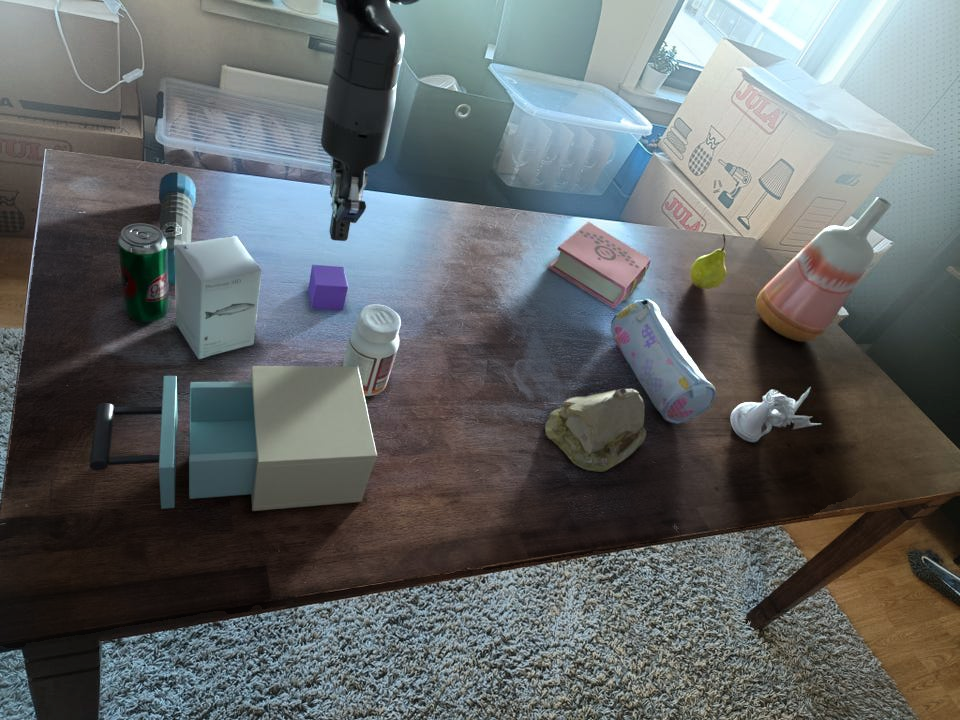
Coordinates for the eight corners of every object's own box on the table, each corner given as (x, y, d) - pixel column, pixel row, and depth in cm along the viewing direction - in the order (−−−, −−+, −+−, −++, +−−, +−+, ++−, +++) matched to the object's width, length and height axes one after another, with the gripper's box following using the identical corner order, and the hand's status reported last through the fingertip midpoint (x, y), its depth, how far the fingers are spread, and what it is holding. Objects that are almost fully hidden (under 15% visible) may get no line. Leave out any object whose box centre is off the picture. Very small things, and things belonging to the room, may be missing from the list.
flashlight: (195, 201, 99) (196, 173, 95) (194, 292, 85) (194, 263, 82) (160, 197, 97) (159, 169, 93) (152, 290, 83) (151, 260, 80)
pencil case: (600, 333, 108) (625, 291, 101) (641, 335, 111) (668, 294, 105) (653, 430, 94) (686, 388, 88) (698, 429, 98) (733, 388, 92)
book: (617, 311, 114) (630, 290, 111) (548, 267, 117) (558, 246, 114) (642, 281, 125) (654, 261, 121) (578, 242, 128) (588, 221, 124)
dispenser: (252, 511, 66) (258, 462, 60) (246, 417, 74) (251, 365, 68) (361, 501, 70) (377, 455, 65) (345, 414, 78) (358, 366, 73)
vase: (750, 329, 125) (854, 201, 105) (747, 291, 136) (841, 169, 116) (817, 359, 124) (933, 236, 105) (809, 319, 135) (913, 201, 116)
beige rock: (578, 482, 82) (612, 435, 76) (532, 418, 88) (560, 369, 82) (649, 454, 90) (685, 410, 84) (602, 397, 96) (633, 351, 89)
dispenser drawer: (91, 514, 59) (83, 472, 55) (103, 420, 67) (97, 375, 62) (272, 500, 66) (278, 461, 62) (265, 415, 73) (270, 375, 69)
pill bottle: (383, 364, 86) (401, 302, 79) (389, 398, 82) (409, 337, 75) (338, 362, 84) (352, 298, 77) (342, 397, 80) (357, 334, 73)
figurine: (718, 413, 102) (762, 362, 94) (752, 412, 105) (798, 363, 97) (754, 468, 95) (806, 419, 87) (790, 465, 98) (843, 417, 91)
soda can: (155, 330, 78) (152, 252, 71) (115, 316, 78) (107, 237, 70) (176, 306, 82) (175, 230, 74) (138, 293, 82) (133, 216, 74)
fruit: (719, 291, 132) (752, 244, 124) (705, 300, 127) (739, 252, 119) (692, 271, 134) (724, 225, 126) (678, 280, 130) (710, 232, 122)
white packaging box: (198, 361, 77) (199, 282, 69) (174, 322, 80) (172, 242, 72) (255, 346, 82) (263, 270, 73) (231, 310, 85) (235, 233, 77)
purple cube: (311, 309, 90) (315, 284, 87) (308, 288, 93) (312, 264, 90) (343, 310, 92) (348, 286, 89) (338, 290, 95) (343, 266, 92)
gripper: (319, 81, 74) (304, 206, 86) (332, 138, 66) (314, 267, 78) (381, 92, 77) (358, 211, 89) (401, 148, 69) (373, 271, 81)
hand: (338, 237), depth 83 cm, fingers closed
